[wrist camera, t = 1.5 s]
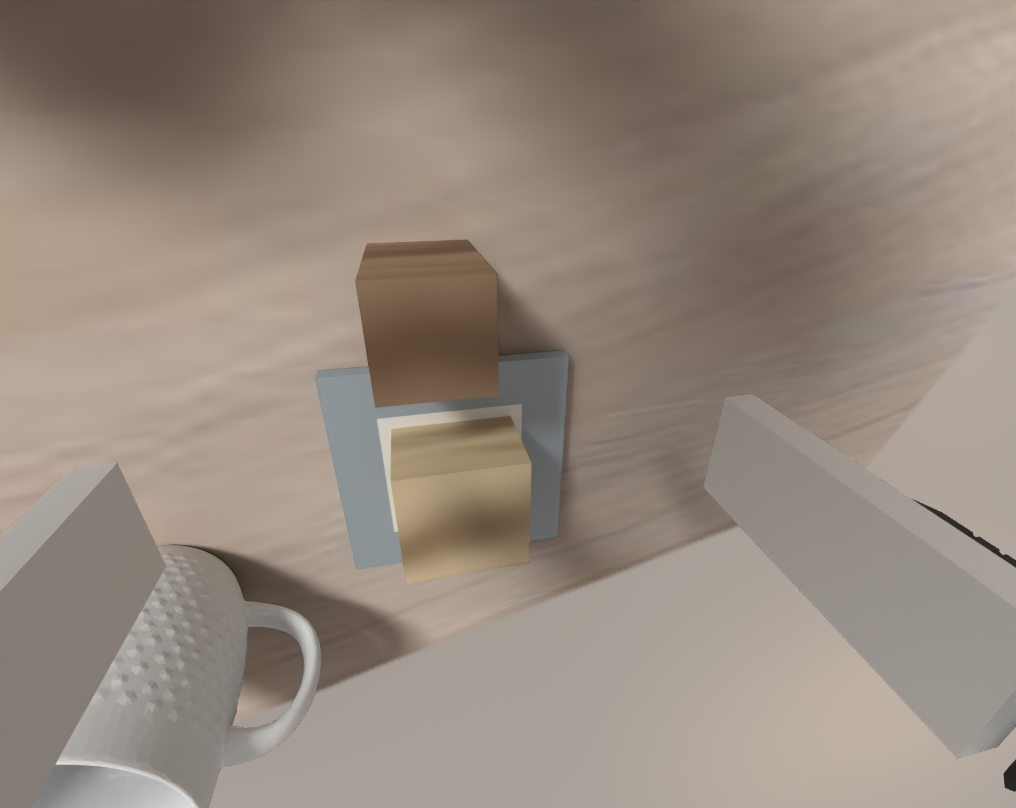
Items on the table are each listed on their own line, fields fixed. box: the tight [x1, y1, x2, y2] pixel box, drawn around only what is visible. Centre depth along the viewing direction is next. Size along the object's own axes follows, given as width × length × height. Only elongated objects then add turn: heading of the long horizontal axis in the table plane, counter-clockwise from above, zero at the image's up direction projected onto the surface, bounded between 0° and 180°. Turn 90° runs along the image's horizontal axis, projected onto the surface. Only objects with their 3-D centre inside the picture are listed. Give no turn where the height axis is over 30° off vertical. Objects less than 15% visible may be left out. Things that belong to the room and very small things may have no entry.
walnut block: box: [355, 240, 499, 408], centre depth 21 cm, size 5×5×8 cm
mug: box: [31, 545, 321, 808], centre depth 25 cm, size 15×11×13 cm
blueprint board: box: [315, 350, 569, 569], centre depth 30 cm, size 14×14×1 cm
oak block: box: [391, 416, 532, 583], centre depth 27 cm, size 7×7×5 cm
